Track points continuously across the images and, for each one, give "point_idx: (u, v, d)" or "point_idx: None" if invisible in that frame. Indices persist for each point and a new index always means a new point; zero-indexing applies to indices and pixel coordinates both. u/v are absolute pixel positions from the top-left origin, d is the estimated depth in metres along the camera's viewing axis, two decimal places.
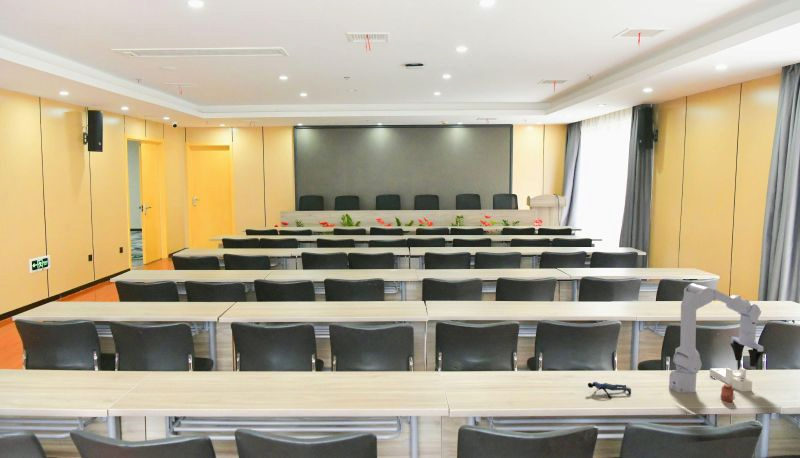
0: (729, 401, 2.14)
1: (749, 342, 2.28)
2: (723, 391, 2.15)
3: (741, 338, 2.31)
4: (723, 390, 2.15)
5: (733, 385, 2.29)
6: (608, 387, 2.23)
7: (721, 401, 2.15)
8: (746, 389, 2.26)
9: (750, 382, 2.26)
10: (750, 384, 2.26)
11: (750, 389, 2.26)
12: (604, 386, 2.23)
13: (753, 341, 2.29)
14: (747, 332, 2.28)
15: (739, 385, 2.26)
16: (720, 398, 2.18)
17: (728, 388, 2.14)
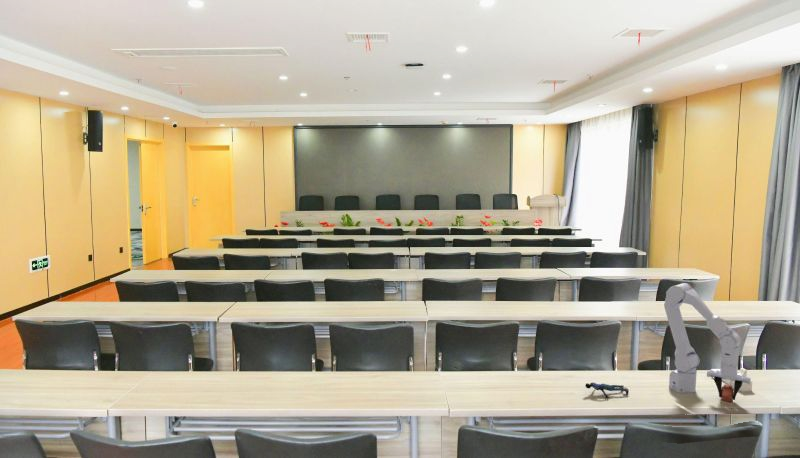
0: (729, 401, 2.14)
1: None
2: (723, 391, 2.15)
3: None
4: (723, 390, 2.15)
5: (733, 385, 2.29)
6: (606, 388, 2.23)
7: (721, 401, 2.15)
8: (746, 389, 2.26)
9: (750, 382, 2.26)
10: (750, 384, 2.26)
11: (750, 389, 2.26)
12: (602, 387, 2.23)
13: (720, 371, 2.16)
14: None
15: None
16: (720, 398, 2.18)
17: (728, 388, 2.14)
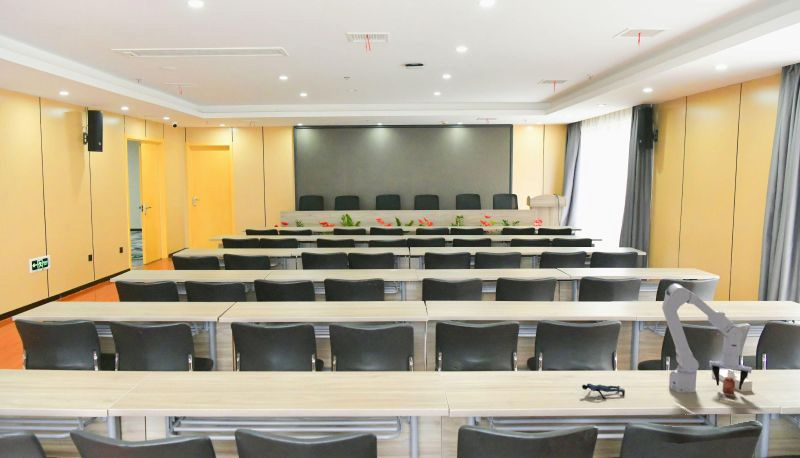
0: (730, 393, 2.22)
1: None
2: (725, 383, 2.23)
3: None
4: (725, 382, 2.23)
5: None
6: (602, 389, 2.22)
7: (721, 401, 2.15)
8: (746, 389, 2.26)
9: (750, 382, 2.26)
10: (750, 384, 2.26)
11: (750, 389, 2.26)
12: (598, 388, 2.22)
13: (722, 361, 2.24)
14: None
15: None
16: (720, 398, 2.18)
17: (729, 380, 2.22)
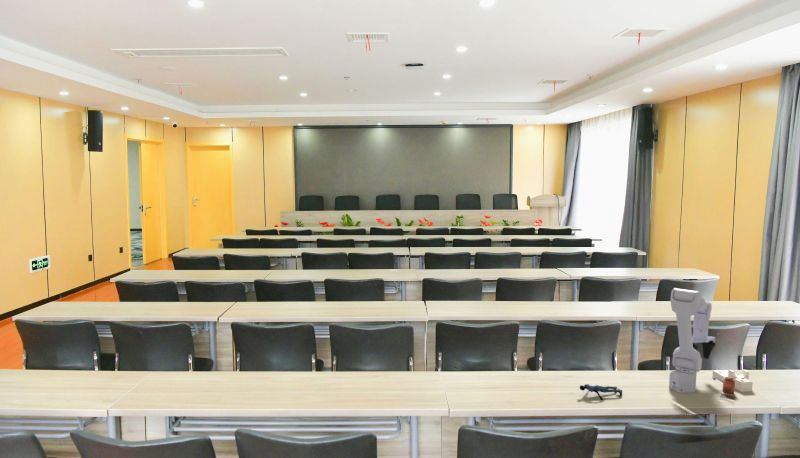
0: (731, 393, 2.22)
1: (693, 336, 2.39)
2: (725, 383, 2.23)
3: None
4: (725, 382, 2.23)
5: None
6: (600, 389, 2.21)
7: (721, 401, 2.15)
8: (746, 389, 2.25)
9: (750, 382, 2.25)
10: (750, 384, 2.25)
11: (750, 389, 2.26)
12: (596, 388, 2.21)
13: (695, 337, 2.37)
14: (693, 326, 2.39)
15: (739, 385, 2.26)
16: (720, 398, 2.18)
17: (730, 380, 2.22)
